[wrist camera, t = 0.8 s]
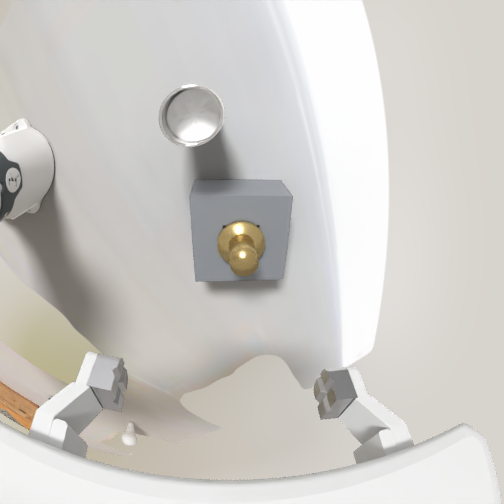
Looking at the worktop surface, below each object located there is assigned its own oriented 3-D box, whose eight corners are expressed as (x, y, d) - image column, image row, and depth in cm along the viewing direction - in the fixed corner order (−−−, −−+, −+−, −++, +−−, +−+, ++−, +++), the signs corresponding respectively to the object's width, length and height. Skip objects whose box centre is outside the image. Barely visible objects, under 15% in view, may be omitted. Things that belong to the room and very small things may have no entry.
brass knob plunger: (217, 238, 48) (218, 286, 36) (217, 201, 44) (216, 241, 32) (256, 237, 48) (269, 285, 37) (258, 201, 45) (273, 240, 33)
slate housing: (198, 255, 49) (195, 281, 43) (194, 180, 42) (189, 196, 35) (274, 253, 51) (283, 279, 44) (281, 180, 44) (293, 196, 37)
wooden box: (-8, 384, 74) (-16, 404, 62) (-11, 373, 69) (-20, 394, 57) (37, 413, 86) (31, 434, 74) (39, 405, 81) (32, 428, 69)
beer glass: (232, 117, 38) (239, 124, 25) (194, 142, 39) (182, 162, 26) (207, 82, 34) (200, 70, 22) (169, 108, 36) (143, 111, 23)
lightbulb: (122, 421, 84) (118, 444, 75) (126, 417, 82) (123, 441, 73) (135, 426, 87) (133, 448, 77) (140, 422, 85) (138, 446, 75)
